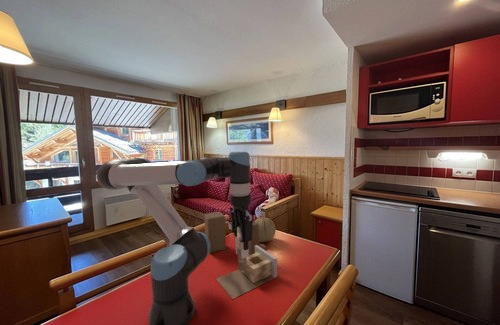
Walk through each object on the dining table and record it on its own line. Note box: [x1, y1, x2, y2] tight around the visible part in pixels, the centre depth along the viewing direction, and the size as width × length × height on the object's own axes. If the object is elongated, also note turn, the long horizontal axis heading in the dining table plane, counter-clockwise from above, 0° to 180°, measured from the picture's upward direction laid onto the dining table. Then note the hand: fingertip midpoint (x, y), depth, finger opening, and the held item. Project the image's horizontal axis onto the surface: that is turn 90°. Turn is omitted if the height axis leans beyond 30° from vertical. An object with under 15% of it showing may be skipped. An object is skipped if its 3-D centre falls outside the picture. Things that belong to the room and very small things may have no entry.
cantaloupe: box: [254, 215, 276, 243], centre depth 127 cm, size 15×15×15 cm
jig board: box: [215, 268, 279, 300], centre depth 93 cm, size 24×15×1 cm, turn 124°
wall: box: [255, 245, 278, 279], centre depth 98 cm, size 2×15×9 cm, turn 34°
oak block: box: [241, 252, 272, 283], centre depth 95 cm, size 10×10×6 cm
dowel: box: [237, 226, 247, 270], centre depth 77 cm, size 3×3×16 cm
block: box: [203, 211, 227, 254], centre depth 119 cm, size 10×10×20 cm
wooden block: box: [248, 221, 268, 256], centre depth 111 cm, size 9×4×18 cm, turn 112°
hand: (242, 254), depth 78 cm, fingers closed on dowel, 3 cm apart
